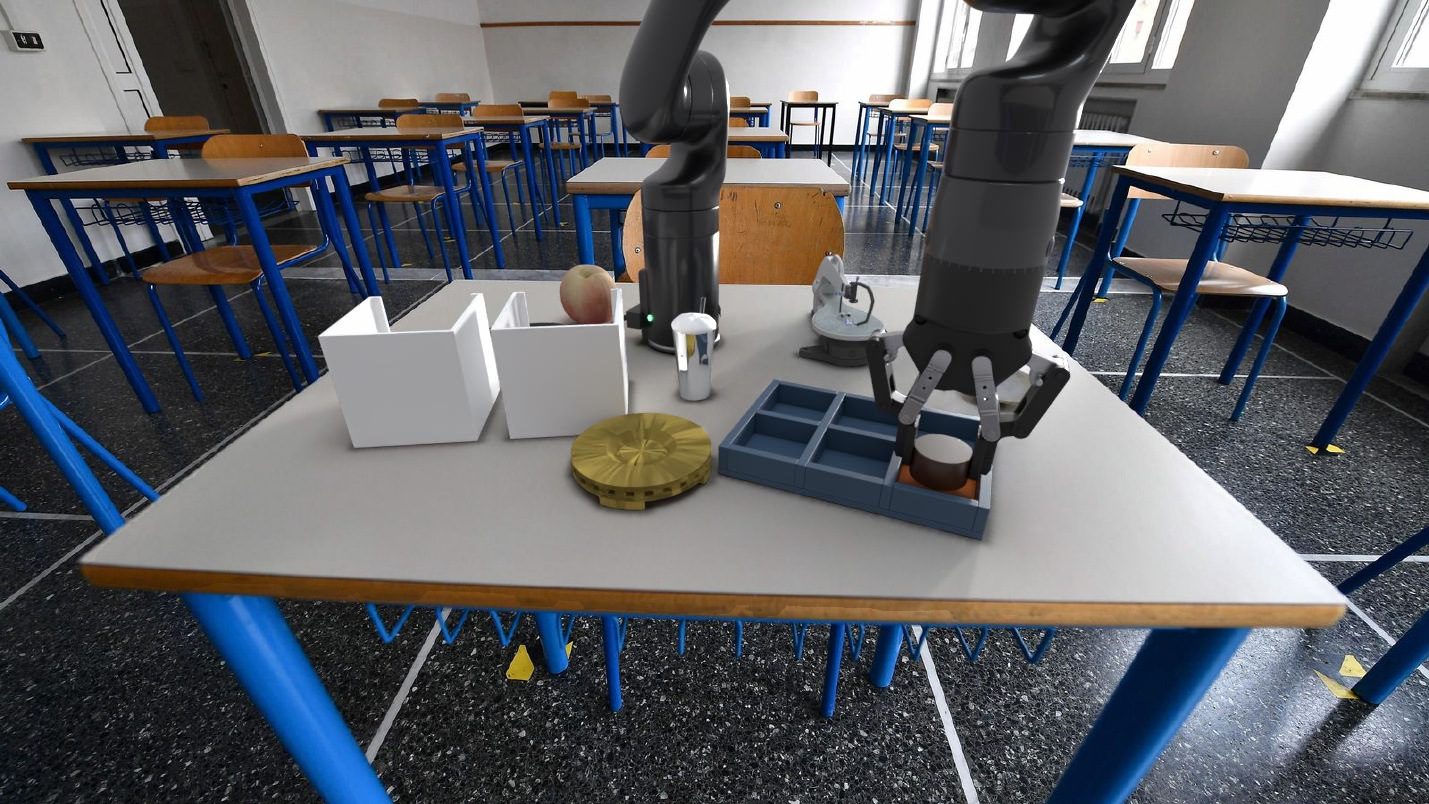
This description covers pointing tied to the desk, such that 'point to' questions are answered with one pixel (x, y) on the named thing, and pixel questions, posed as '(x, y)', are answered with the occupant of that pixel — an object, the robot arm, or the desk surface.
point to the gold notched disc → (641, 458)
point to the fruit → (587, 294)
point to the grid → (850, 456)
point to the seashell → (1014, 388)
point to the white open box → (474, 375)
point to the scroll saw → (839, 317)
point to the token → (940, 462)
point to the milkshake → (694, 353)
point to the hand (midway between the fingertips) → (939, 466)
